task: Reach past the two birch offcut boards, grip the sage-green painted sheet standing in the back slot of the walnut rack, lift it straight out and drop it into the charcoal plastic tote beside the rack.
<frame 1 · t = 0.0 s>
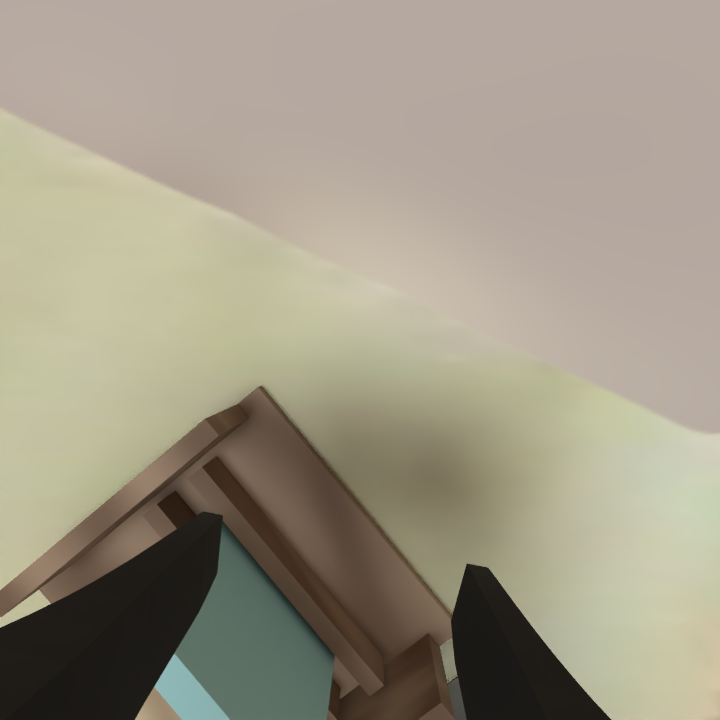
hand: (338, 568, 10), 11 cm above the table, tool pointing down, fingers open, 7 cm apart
offcut upper: (152, 671, 20), point 2 cm above the table, touching offcut lower
rack: (250, 591, 22), on the table
sheet: (272, 578, 21), point 1 cm above the table, touching rack
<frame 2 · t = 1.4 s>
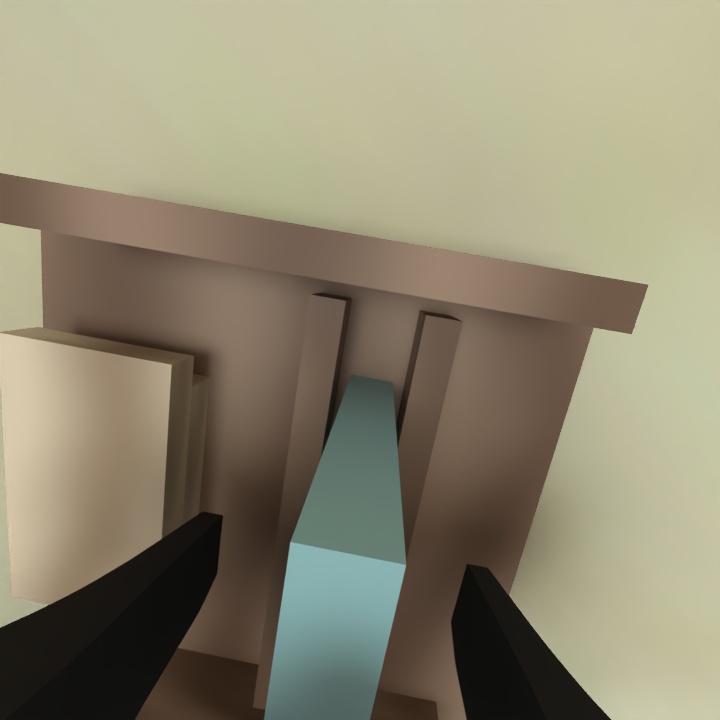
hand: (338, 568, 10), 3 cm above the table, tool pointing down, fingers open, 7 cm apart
offcut upper: (112, 471, 12), point 2 cm above the table, touching offcut lower
rack: (298, 488, 14), on the table
sheet: (347, 508, 13), point 1 cm above the table, touching rack
offcut lower: (135, 479, 14), point 1 cm above the table, touching offcut upper, rack
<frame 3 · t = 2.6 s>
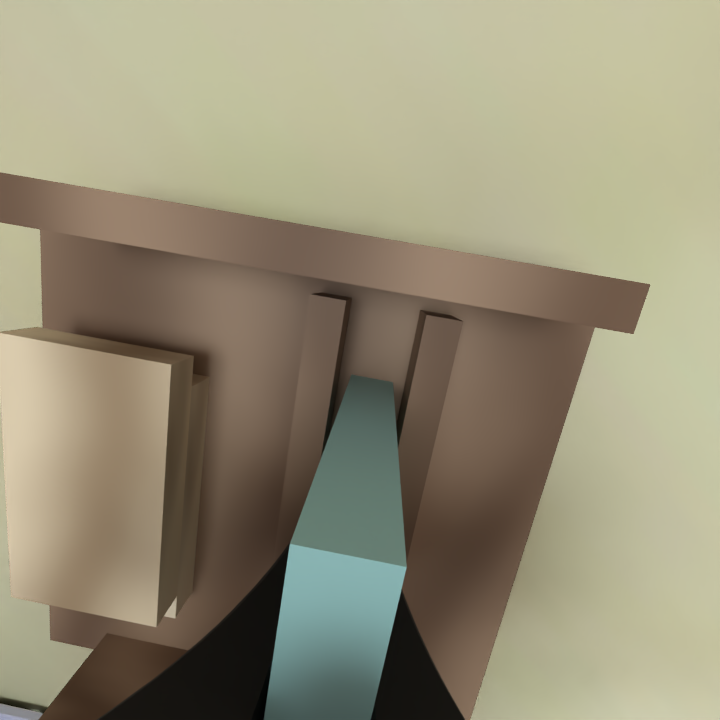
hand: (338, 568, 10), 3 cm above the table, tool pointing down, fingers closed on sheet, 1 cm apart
offcut upper: (112, 471, 12), point 2 cm above the table, touching offcut lower
rack: (298, 489, 14), on the table
sheet: (347, 508, 13), point 1 cm above the table, touching gripper, rack
offcut lower: (135, 479, 14), point 1 cm above the table, touching offcut upper, rack
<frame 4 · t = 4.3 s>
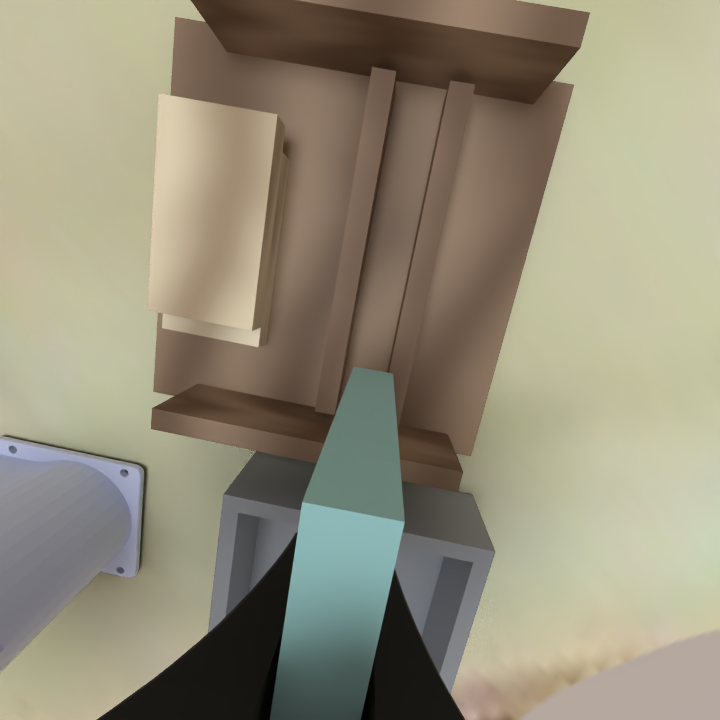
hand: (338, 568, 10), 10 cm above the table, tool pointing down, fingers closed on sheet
offcut upper: (220, 223, 17), point 2 cm above the table, touching offcut lower
rack: (348, 260, 19), on the table
sheet: (350, 495, 14), point 7 cm above the table, touching gripper
tote: (343, 570, 23), on the table
offcut lower: (229, 247, 18), point 1 cm above the table, touching offcut upper, rack
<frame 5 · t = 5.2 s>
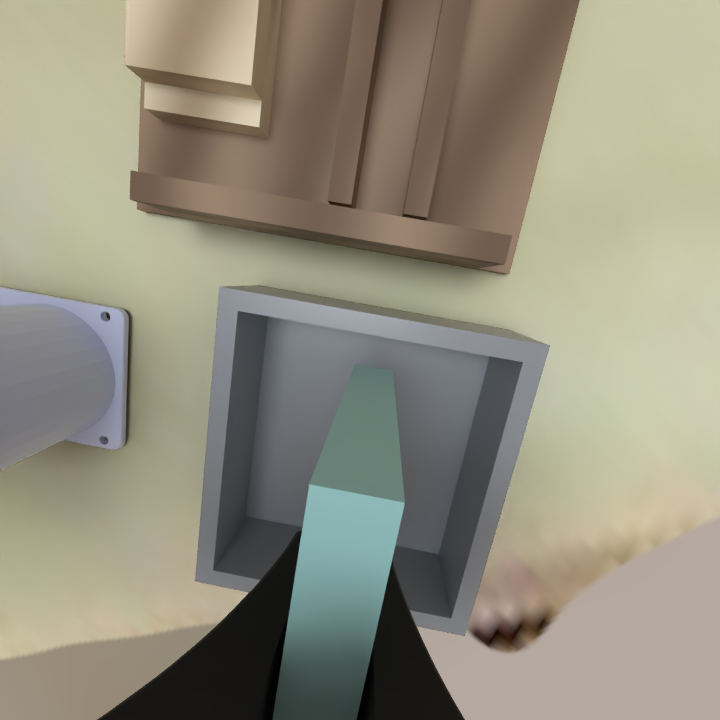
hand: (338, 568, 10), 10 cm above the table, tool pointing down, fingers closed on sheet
rack: (363, 30, 16), on the table
sheet: (351, 490, 14), point 6 cm above the table, touching gripper
tote: (359, 433, 20), on the table
offcut lower: (222, 13, 15), point 1 cm above the table, touching offcut upper, rack
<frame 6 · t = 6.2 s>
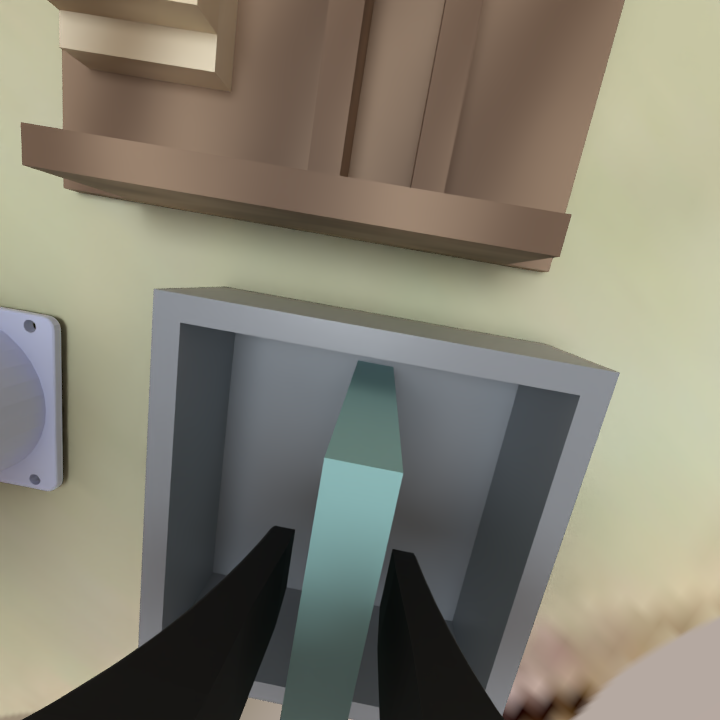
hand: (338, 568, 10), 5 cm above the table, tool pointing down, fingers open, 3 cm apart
sheet: (353, 477, 15), resting on tote
tote: (354, 472, 16), on the table
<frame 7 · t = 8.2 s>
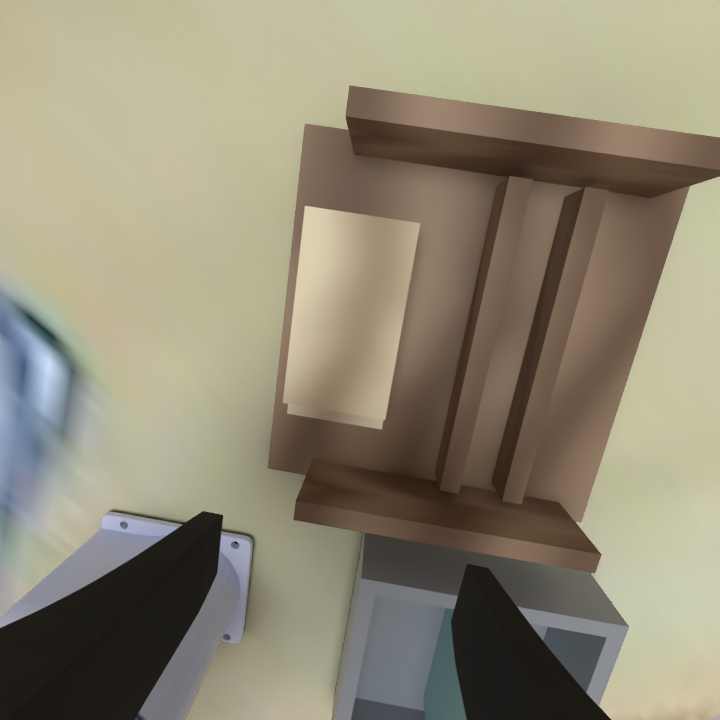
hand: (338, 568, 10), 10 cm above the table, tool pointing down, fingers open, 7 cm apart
offcut upper: (349, 316, 18), point 2 cm above the table, touching offcut lower
rack: (462, 340, 19), on the table
sheet: (449, 637, 23), resting on tote
tote: (447, 630, 23), on the table
offcut lower: (348, 333, 19), point 1 cm above the table, touching offcut upper, rack
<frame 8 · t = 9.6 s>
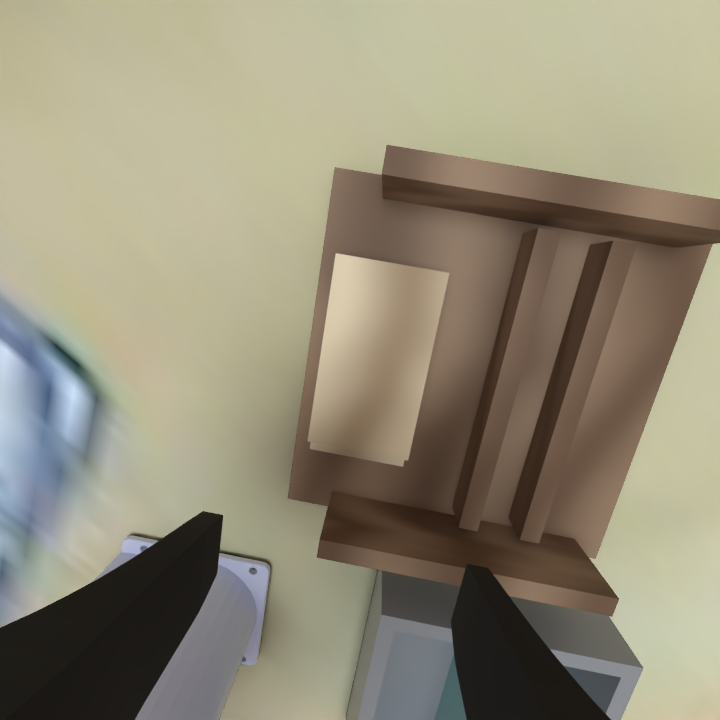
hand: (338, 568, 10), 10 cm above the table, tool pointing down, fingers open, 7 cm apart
offcut upper: (374, 357, 18), point 2 cm above the table, touching offcut lower
rack: (483, 379, 20), on the table
sheet: (461, 665, 23), resting on tote
tote: (459, 657, 23), on the table
offcut lower: (371, 370, 19), point 1 cm above the table, touching offcut upper, rack
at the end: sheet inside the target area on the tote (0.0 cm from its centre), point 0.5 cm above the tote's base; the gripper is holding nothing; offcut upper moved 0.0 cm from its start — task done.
